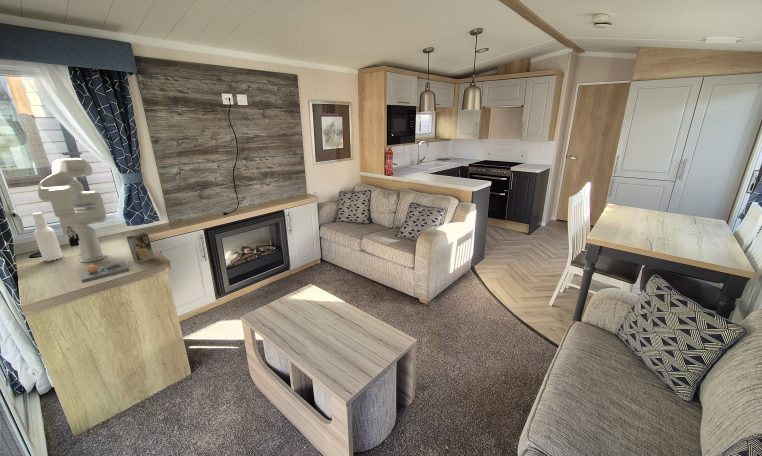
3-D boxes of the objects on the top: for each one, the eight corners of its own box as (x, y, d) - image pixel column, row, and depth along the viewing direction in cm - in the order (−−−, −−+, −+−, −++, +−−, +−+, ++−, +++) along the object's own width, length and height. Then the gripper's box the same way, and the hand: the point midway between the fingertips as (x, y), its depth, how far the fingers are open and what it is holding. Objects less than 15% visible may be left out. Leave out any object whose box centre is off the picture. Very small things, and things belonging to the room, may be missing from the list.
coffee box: (149, 256, 201) (143, 232, 195) (154, 258, 197) (148, 233, 192) (133, 261, 193) (126, 236, 188) (137, 263, 190) (130, 238, 185)
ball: (85, 274, 173) (83, 266, 172) (93, 270, 177) (90, 263, 176) (93, 274, 173) (90, 267, 171) (100, 270, 177) (98, 263, 176)
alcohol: (67, 256, 202) (51, 211, 192) (51, 262, 193) (34, 215, 184) (55, 255, 203) (39, 210, 193) (39, 261, 195) (21, 214, 185)
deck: (82, 282, 167) (81, 279, 167) (81, 273, 177) (80, 271, 177) (129, 270, 180) (128, 268, 180) (126, 263, 190) (125, 260, 190)
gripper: (56, 210, 166) (66, 241, 171) (53, 217, 153) (64, 249, 158) (75, 208, 170) (85, 237, 176) (74, 214, 158) (84, 245, 163)
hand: (75, 243), depth 167 cm, fingers open, 9 cm apart
